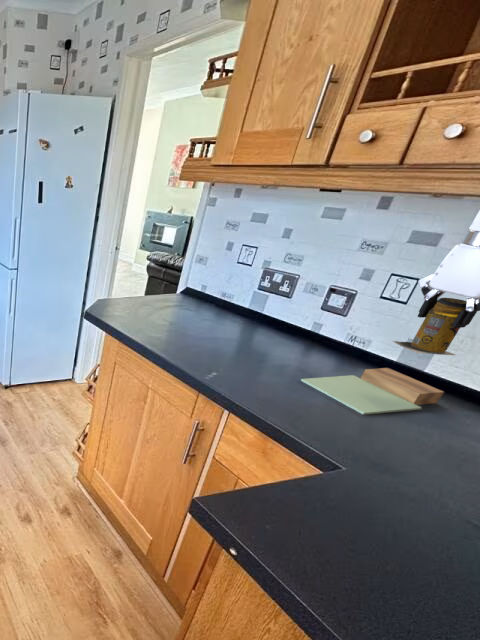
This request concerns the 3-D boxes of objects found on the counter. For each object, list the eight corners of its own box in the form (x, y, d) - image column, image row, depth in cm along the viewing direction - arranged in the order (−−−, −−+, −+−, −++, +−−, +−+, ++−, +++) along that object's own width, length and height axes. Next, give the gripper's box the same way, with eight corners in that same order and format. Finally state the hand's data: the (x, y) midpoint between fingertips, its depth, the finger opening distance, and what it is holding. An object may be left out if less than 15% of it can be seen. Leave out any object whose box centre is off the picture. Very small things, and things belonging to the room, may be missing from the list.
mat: (352, 376, 121) (353, 375, 121) (420, 409, 106) (422, 407, 106) (300, 380, 118) (301, 378, 118) (363, 414, 103) (364, 412, 103)
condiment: (455, 355, 96) (487, 305, 90) (417, 354, 96) (445, 304, 91) (427, 343, 102) (455, 296, 96) (391, 342, 103) (416, 294, 97)
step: (381, 378, 121) (388, 367, 119) (436, 403, 109) (444, 391, 107) (359, 380, 120) (365, 369, 118) (412, 405, 108) (419, 393, 106)
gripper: (560, 248, 80) (500, 334, 89) (453, 234, 95) (411, 309, 104) (532, 249, 79) (474, 337, 87) (427, 234, 94) (387, 310, 102)
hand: (440, 321), depth 95 cm, fingers closed on condiment, 6 cm apart
